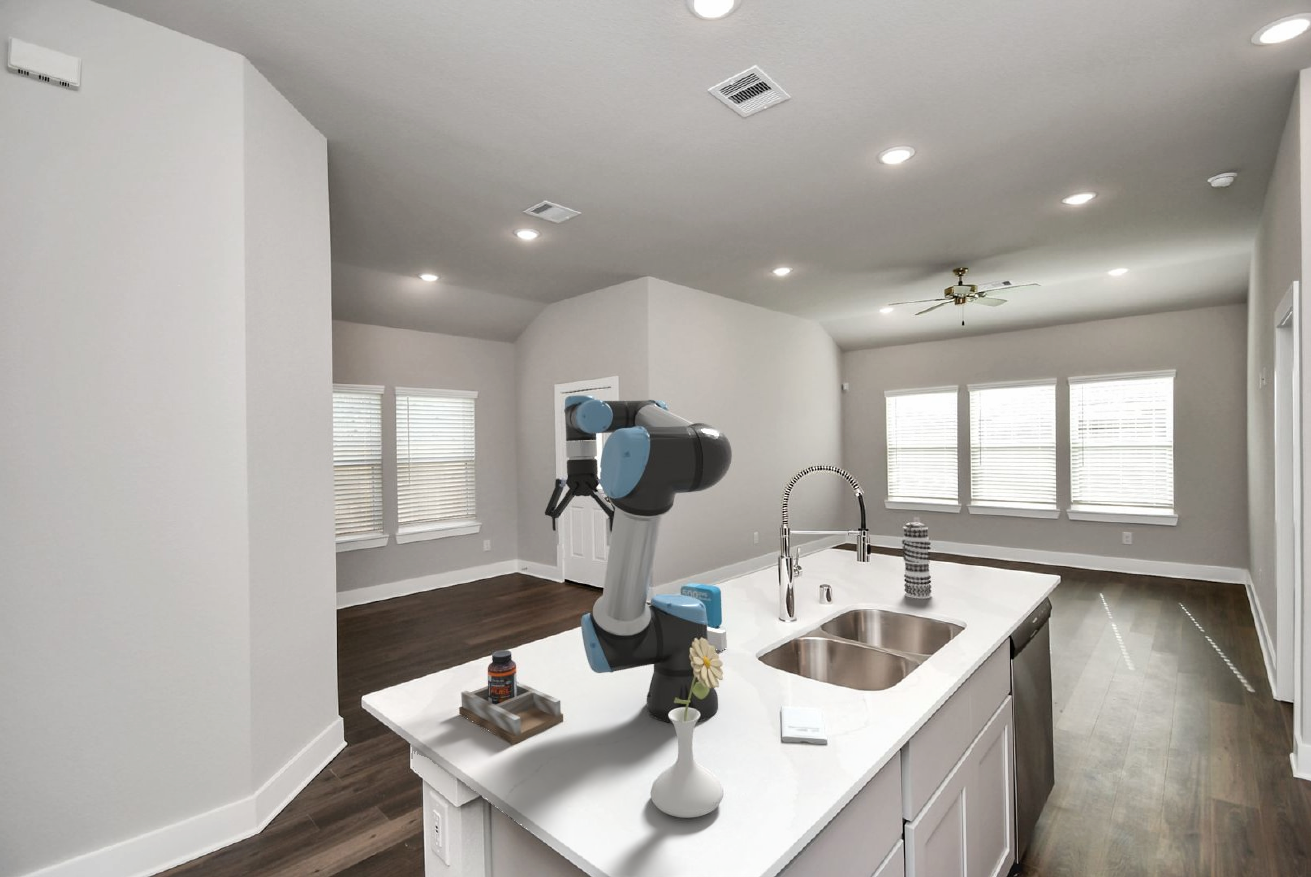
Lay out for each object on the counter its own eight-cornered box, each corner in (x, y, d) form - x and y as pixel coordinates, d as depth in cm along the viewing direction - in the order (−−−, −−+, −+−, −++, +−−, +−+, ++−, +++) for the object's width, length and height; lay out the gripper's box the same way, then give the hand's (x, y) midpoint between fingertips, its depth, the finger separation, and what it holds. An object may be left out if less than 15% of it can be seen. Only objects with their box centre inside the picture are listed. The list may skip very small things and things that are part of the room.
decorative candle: (904, 598, 202) (902, 525, 202) (902, 591, 210) (900, 521, 210) (934, 599, 199) (931, 525, 199) (930, 592, 207) (928, 521, 208)
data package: (681, 624, 182) (679, 585, 182) (689, 620, 186) (688, 582, 186) (714, 630, 175) (713, 590, 175) (722, 626, 178) (721, 586, 178)
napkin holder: (736, 653, 157) (735, 632, 157) (695, 658, 154) (694, 636, 155) (719, 635, 171) (719, 616, 171) (681, 639, 169) (681, 619, 169)
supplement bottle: (488, 714, 122) (486, 659, 122) (488, 702, 127) (486, 650, 127) (518, 710, 123) (516, 656, 123) (516, 698, 129) (515, 646, 129)
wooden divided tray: (563, 721, 121) (562, 699, 121) (513, 745, 112) (512, 721, 112) (508, 695, 134) (507, 675, 134) (459, 714, 125) (458, 693, 125)
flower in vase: (681, 837, 84) (675, 662, 84) (636, 799, 94) (631, 641, 94) (747, 801, 92) (741, 641, 92) (699, 770, 101) (694, 624, 101)
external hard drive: (822, 716, 121) (827, 747, 108) (781, 713, 122) (782, 744, 110) (822, 708, 121) (827, 738, 108) (781, 705, 122) (781, 735, 110)
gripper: (634, 456, 146) (637, 542, 146) (544, 458, 153) (546, 540, 153) (623, 457, 138) (626, 548, 138) (529, 460, 146) (532, 546, 146)
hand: (584, 544), depth 146 cm, fingers open, 13 cm apart
